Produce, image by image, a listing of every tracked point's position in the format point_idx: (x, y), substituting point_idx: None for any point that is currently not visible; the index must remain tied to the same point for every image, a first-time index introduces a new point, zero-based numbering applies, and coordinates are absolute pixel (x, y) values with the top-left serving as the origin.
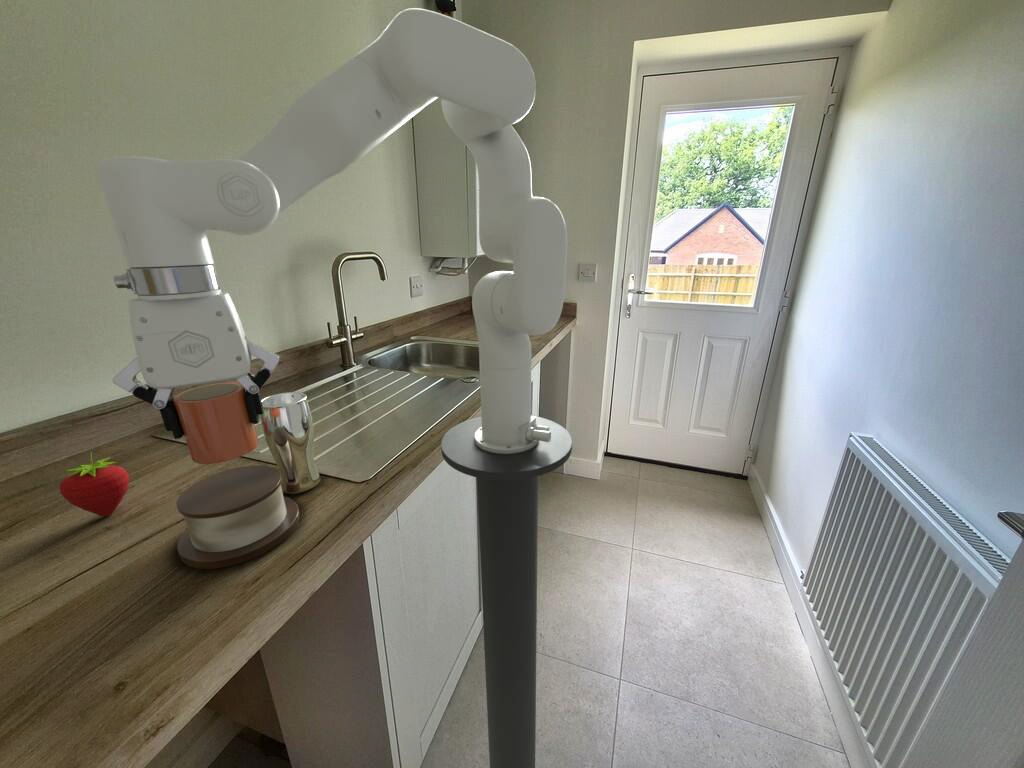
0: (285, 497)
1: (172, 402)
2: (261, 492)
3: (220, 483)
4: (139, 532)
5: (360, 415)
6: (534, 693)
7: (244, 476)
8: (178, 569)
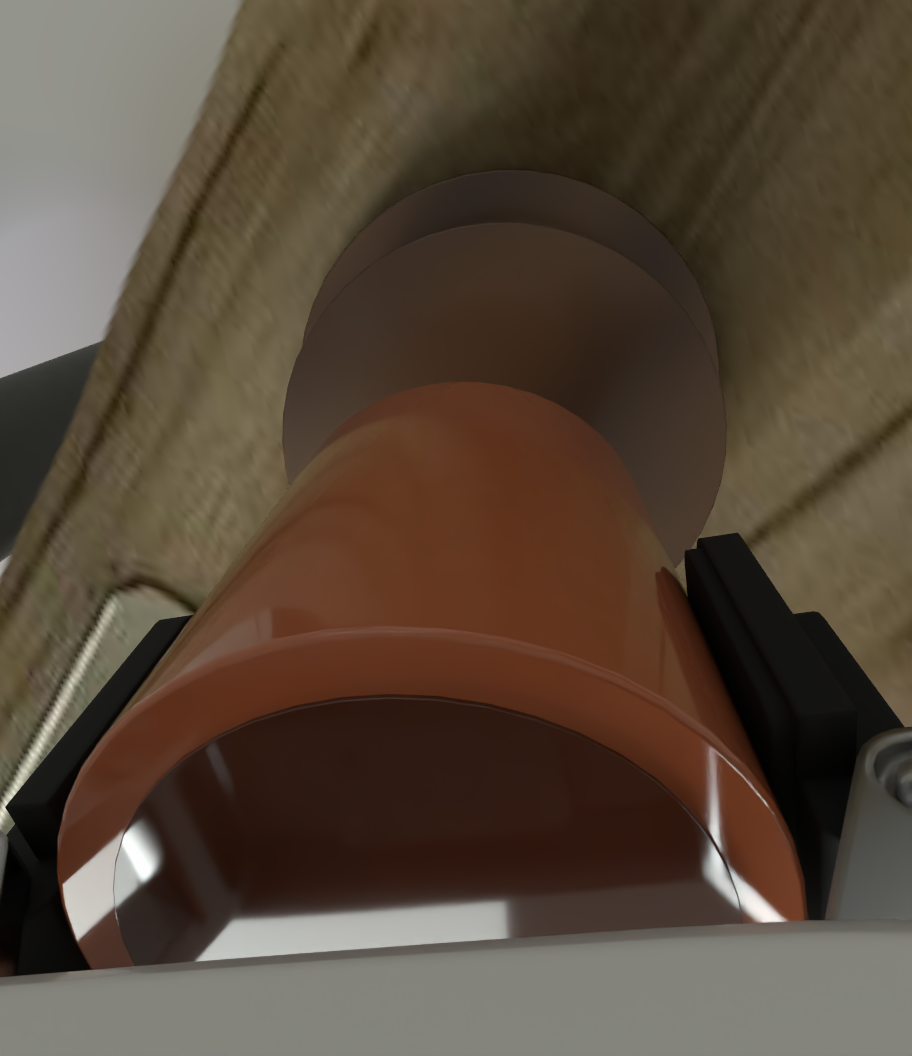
0: None
1: (807, 848)
2: (336, 362)
3: None
4: (887, 510)
5: None
6: None
7: None
8: (683, 217)
